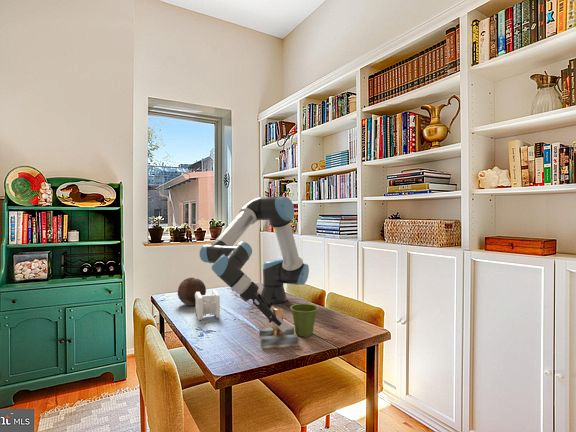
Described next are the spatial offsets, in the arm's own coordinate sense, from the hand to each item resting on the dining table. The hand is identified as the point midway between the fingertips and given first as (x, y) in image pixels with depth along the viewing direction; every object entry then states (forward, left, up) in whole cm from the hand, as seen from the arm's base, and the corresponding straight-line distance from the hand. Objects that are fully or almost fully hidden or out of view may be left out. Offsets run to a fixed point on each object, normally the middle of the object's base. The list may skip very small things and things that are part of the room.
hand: (283, 323), depth 138 cm
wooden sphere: (-12, -73, -7) cm, 74 cm away
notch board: (+2, -2, -7) cm, 7 cm away
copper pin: (+2, -2, -6) cm, 6 cm away
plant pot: (-11, +2, -7) cm, 14 cm away
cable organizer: (-3, -50, -7) cm, 50 cm away
